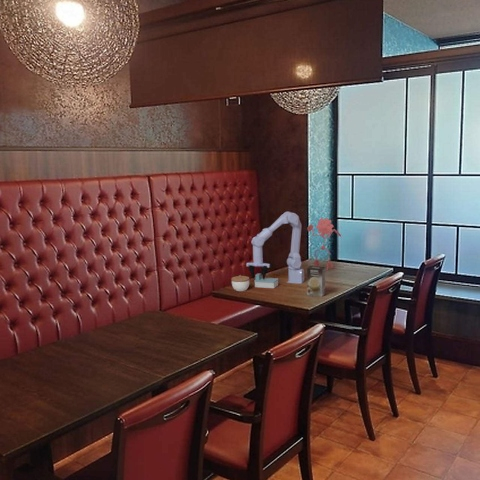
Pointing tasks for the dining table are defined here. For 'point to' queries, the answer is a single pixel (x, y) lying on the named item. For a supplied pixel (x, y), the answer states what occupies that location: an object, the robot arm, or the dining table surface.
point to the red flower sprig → (323, 228)
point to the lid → (260, 279)
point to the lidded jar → (240, 283)
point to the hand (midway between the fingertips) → (258, 278)
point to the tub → (266, 284)
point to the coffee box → (316, 281)
